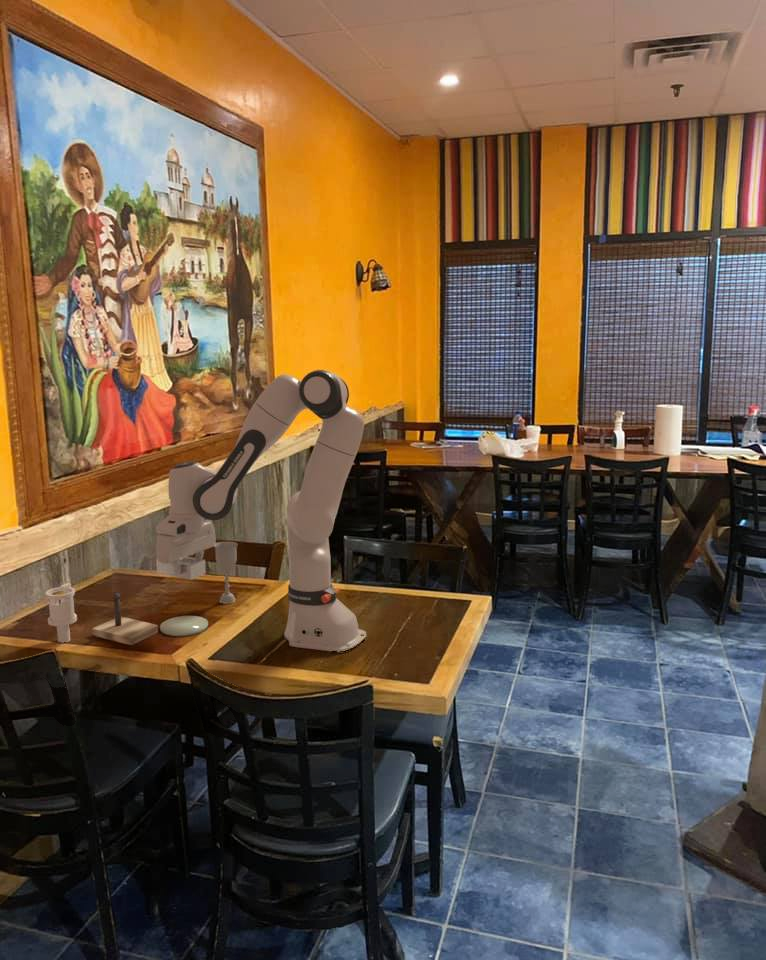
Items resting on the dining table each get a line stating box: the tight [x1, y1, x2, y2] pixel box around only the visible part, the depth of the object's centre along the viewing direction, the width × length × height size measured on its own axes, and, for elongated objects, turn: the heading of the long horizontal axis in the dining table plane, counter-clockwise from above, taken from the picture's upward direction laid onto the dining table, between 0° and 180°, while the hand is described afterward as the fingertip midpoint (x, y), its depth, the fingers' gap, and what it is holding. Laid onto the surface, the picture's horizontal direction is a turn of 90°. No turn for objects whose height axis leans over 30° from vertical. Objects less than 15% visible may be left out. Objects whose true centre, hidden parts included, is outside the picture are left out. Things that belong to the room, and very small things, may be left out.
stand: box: [91, 592, 159, 646], centre depth 206 cm, size 14×10×11 cm
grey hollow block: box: [155, 556, 206, 581], centre depth 209 cm, size 12×6×4 cm, turn 64°
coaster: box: [159, 615, 209, 637], centre depth 212 cm, size 13×13×1 cm
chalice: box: [213, 541, 239, 605], centre depth 230 cm, size 7×7×18 cm
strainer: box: [45, 582, 78, 644], centre depth 201 cm, size 7×7×15 cm
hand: (188, 570), depth 208 cm, fingers closed on grey hollow block, 6 cm apart
